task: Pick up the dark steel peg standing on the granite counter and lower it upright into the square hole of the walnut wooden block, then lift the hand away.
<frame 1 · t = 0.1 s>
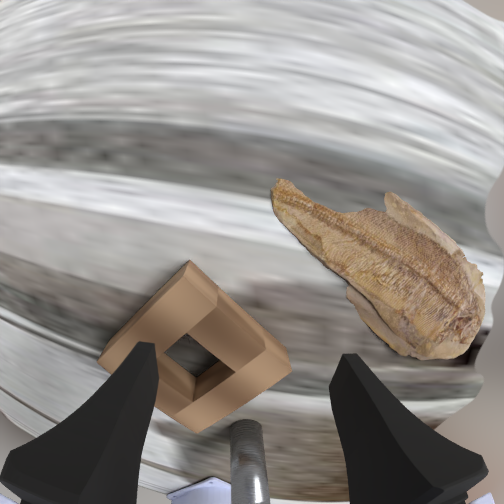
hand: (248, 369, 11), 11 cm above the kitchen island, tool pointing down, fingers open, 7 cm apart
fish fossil: (403, 268, 23), on the kitchen island
walnut hole block: (194, 346, 23), on the kitchen island
steel peg: (246, 429, 26), on the kitchen island
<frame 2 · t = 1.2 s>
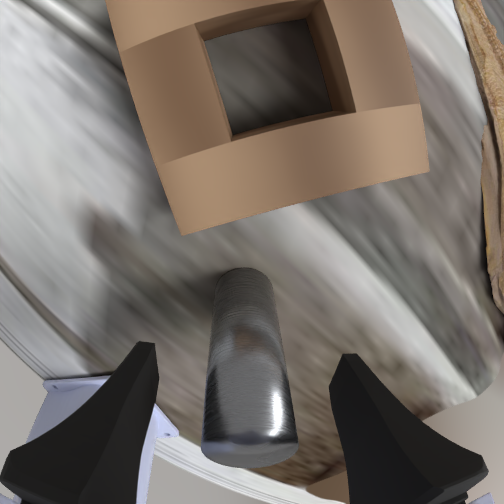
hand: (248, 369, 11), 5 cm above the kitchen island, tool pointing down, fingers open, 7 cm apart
walnut hole block: (269, 73, 12), on the kitchen island
steel peg: (244, 292, 16), on the kitchen island
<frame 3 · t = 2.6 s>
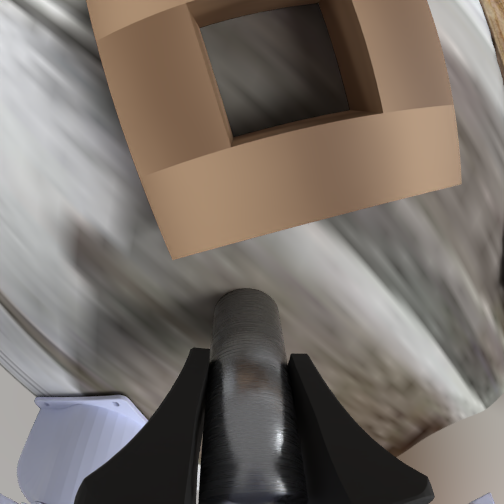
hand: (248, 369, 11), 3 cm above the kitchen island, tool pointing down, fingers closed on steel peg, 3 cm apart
walnut hole block: (276, 64, 10), on the kitchen island
steel peg: (246, 315, 14), on the kitchen island, touching gripper
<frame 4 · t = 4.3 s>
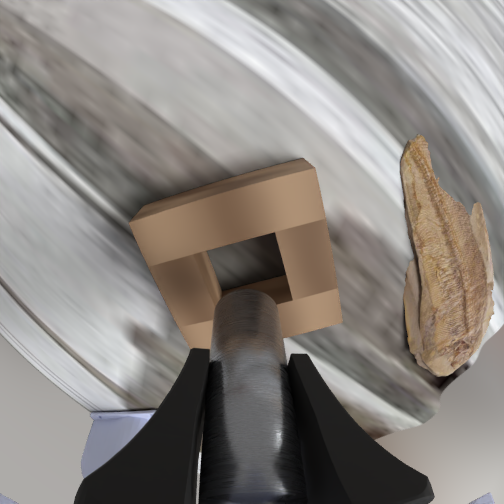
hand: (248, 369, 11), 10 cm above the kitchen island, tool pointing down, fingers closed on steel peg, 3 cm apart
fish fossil: (451, 272, 22), on the kitchen island
walnut hole block: (244, 254, 20), on the kitchen island
steel peg: (246, 315, 14), point 6 cm above the kitchen island, touching gripper
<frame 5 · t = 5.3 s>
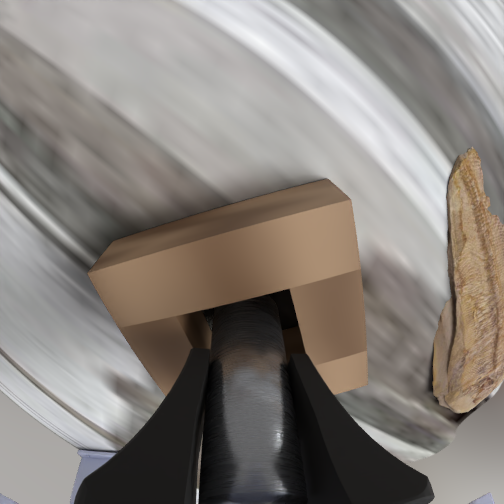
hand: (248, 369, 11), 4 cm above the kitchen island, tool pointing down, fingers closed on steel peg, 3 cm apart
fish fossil: (486, 309, 17), on the kitchen island
walnut hole block: (246, 303, 15), on the kitchen island
steel peg: (246, 315, 14), point 1 cm above the kitchen island, touching gripper
when the fingers open (4 cm above the kitchen island, at t = 6.2 s): steel peg stays where it is, resting in walnut hole block.
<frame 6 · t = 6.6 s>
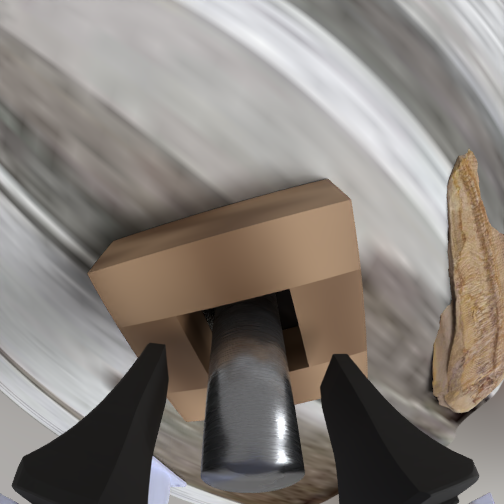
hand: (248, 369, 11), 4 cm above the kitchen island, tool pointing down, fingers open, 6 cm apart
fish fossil: (486, 308, 17), on the kitchen island
walnut hole block: (246, 303, 15), on the kitchen island
steel peg: (246, 303, 15), resting in walnut hole block
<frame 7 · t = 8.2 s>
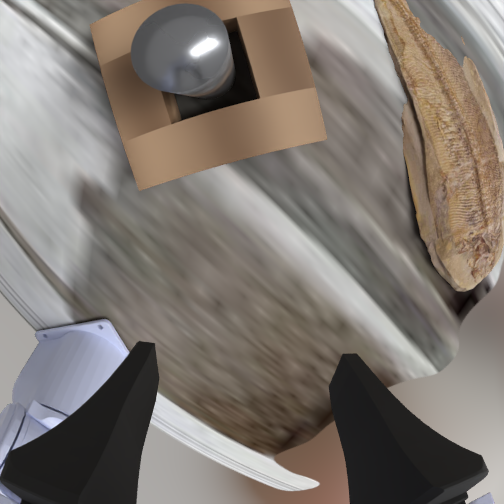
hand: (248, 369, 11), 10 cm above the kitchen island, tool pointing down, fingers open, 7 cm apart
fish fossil: (456, 139, 18), on the kitchen island
walnut hole block: (209, 74, 15), on the kitchen island
steel peg: (209, 74, 16), resting in walnut hole block
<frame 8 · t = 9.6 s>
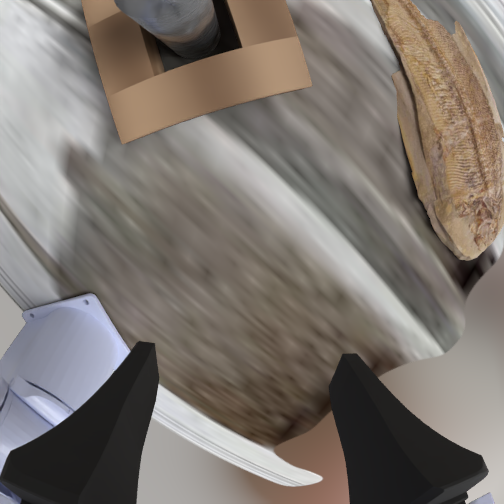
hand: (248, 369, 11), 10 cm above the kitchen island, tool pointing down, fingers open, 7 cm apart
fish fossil: (448, 99, 17), on the kitchen island
walnut hole block: (194, 35, 14), on the kitchen island
steel peg: (194, 35, 14), resting in walnut hole block
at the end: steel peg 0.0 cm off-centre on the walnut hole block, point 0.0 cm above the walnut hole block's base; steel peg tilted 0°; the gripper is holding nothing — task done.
